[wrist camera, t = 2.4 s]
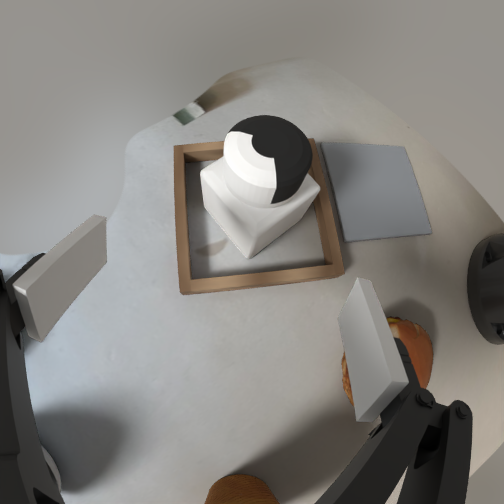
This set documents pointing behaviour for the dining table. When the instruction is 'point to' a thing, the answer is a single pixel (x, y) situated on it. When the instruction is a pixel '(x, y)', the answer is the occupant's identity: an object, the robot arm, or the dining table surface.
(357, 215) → the slate mat
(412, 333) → the burger
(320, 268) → the walnut caddy
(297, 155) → the medicine bottle
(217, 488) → the disposable coffee cup
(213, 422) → the dining table surface
